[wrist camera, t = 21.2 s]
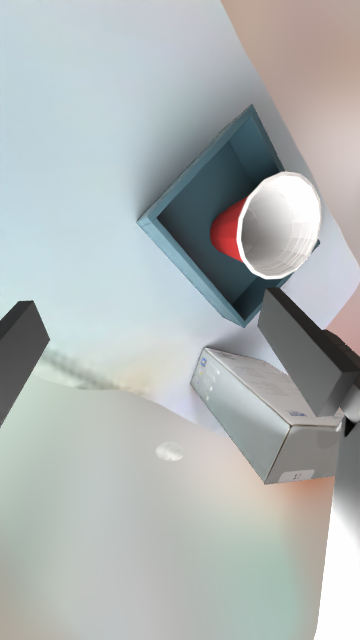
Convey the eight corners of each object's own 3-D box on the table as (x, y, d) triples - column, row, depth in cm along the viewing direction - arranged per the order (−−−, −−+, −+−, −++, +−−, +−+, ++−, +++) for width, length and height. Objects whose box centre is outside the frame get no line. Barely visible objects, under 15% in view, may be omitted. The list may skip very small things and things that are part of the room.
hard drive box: (188, 384, 42) (261, 486, 24) (202, 346, 41) (291, 423, 23) (252, 392, 48) (347, 477, 31) (266, 360, 47) (373, 428, 29)
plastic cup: (179, 245, 33) (222, 244, 22) (218, 177, 32) (282, 143, 22) (230, 283, 38) (286, 297, 27) (266, 225, 37) (337, 216, 26)
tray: (136, 222, 31) (146, 216, 25) (223, 129, 31) (252, 103, 26) (222, 316, 40) (244, 328, 35) (288, 243, 41) (320, 243, 35)
